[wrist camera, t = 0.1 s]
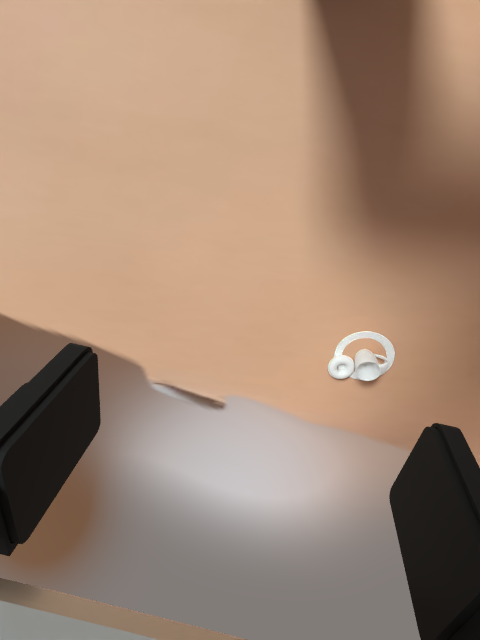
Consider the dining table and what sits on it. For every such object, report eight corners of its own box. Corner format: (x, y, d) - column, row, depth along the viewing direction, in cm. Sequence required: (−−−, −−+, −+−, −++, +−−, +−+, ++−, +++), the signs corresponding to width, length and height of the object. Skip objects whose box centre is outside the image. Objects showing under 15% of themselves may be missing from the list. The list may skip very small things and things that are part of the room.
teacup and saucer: (325, 374, 54) (326, 392, 51) (331, 327, 50) (333, 343, 47) (388, 379, 53) (394, 398, 50) (399, 331, 49) (406, 348, 46)
